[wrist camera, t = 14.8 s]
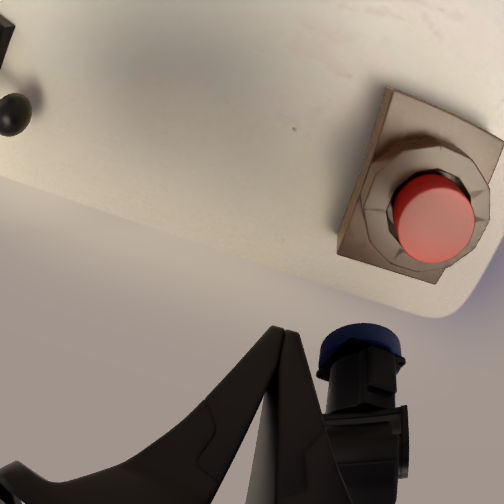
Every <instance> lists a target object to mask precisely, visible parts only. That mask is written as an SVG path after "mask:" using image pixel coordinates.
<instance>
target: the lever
mask: <svg viewBox="0 0 504 504" xmlns="http://www.w3.org/2000/svg"><path fill="white" fill-rule="evenodd" d="M31 116H32V107H31V104H30V101H29V100H28V98H27V97H26V96H24V95H22V94H19V93H12V94H8V95H6V96H4V97H3V98H2V99H1V100H0V134H1V135H3V136H8V137H11V136H15V135H17V134H19V133H21V132H22V131H23V130H24V129H25V128H26V127H27V125H28V124H29V122H30V119H31Z"/></svg>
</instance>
